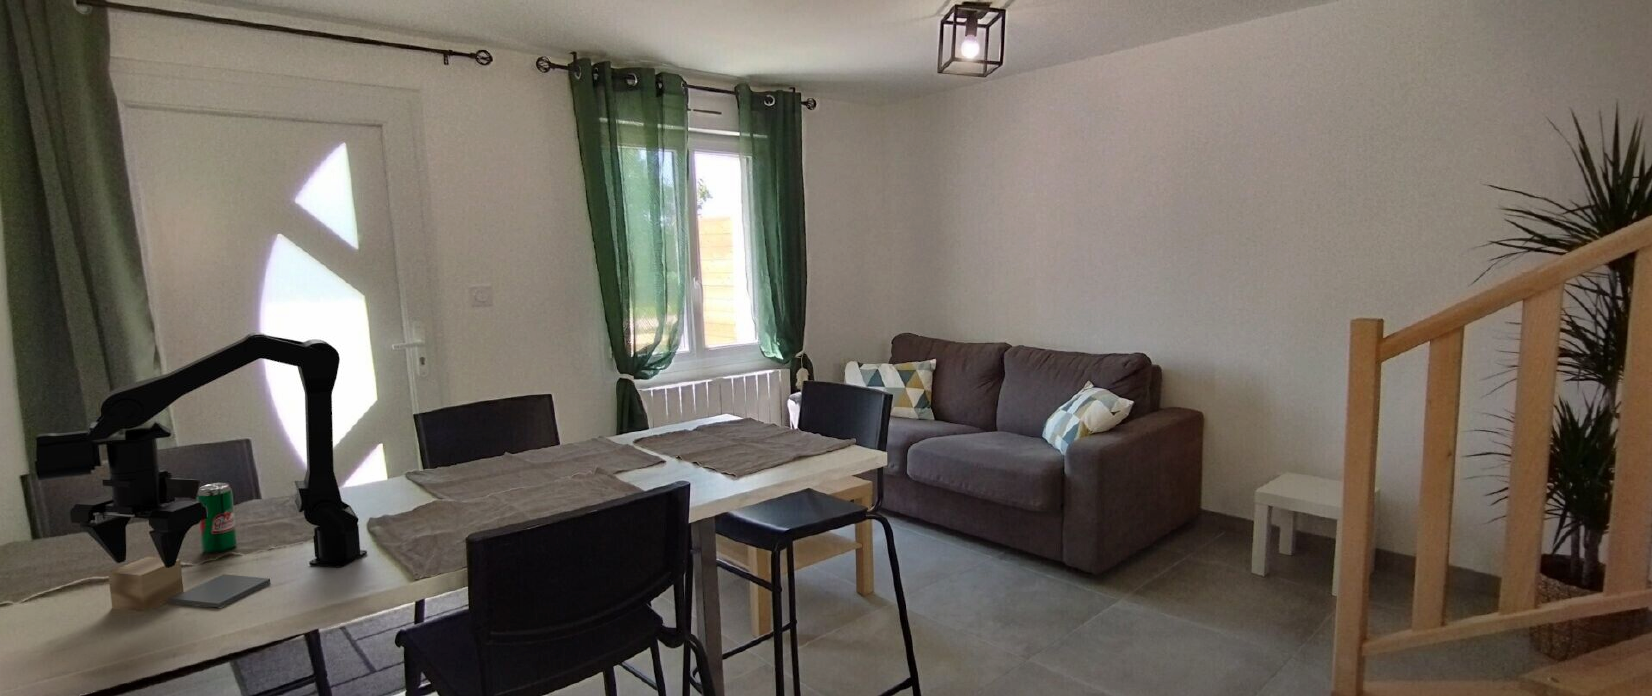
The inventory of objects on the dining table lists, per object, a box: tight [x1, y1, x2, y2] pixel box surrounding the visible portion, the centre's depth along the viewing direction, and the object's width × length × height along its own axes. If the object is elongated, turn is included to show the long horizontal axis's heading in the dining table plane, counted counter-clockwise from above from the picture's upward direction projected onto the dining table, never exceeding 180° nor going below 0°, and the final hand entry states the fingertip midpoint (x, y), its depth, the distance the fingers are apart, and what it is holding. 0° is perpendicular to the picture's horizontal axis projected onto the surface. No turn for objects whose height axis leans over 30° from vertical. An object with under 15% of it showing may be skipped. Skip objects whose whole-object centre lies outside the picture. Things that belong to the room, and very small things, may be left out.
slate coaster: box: [169, 573, 271, 609], centre depth 122 cm, size 9×9×1 cm
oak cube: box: [107, 556, 185, 613], centre depth 119 cm, size 6×6×6 cm
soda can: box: [196, 482, 238, 554], centre depth 139 cm, size 5×5×12 cm
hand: (145, 564), depth 118 cm, fingers open, 9 cm apart
